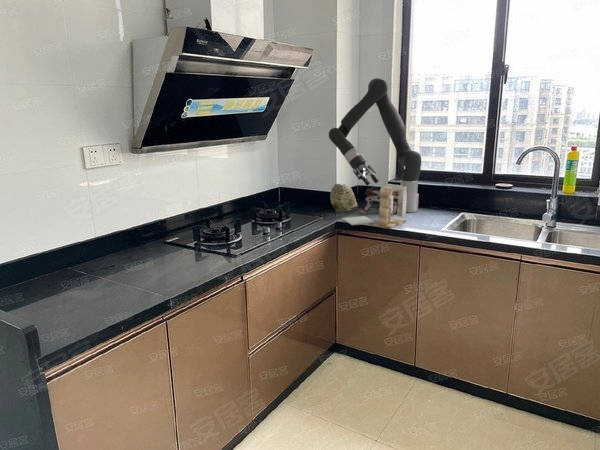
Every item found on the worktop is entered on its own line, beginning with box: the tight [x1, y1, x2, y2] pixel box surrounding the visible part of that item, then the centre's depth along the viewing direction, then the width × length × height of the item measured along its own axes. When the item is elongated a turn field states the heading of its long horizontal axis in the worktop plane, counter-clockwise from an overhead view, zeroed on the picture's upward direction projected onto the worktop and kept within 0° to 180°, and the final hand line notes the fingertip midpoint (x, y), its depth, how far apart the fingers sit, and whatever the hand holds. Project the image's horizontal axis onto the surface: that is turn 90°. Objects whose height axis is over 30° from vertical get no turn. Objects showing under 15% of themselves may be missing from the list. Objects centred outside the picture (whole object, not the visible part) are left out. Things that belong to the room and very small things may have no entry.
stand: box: [372, 186, 407, 230], centre depth 217 cm, size 17×9×19 cm, turn 141°
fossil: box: [329, 183, 358, 213], centre depth 250 cm, size 9×18×15 cm, turn 137°
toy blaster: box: [359, 186, 398, 215], centre depth 240 cm, size 4×21×15 cm, turn 89°
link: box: [385, 183, 407, 218], centre depth 220 cm, size 10×4×15 cm, turn 51°
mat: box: [341, 215, 376, 226], centre depth 225 cm, size 13×13×1 cm
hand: (373, 183), depth 227 cm, fingers open, 8 cm apart
